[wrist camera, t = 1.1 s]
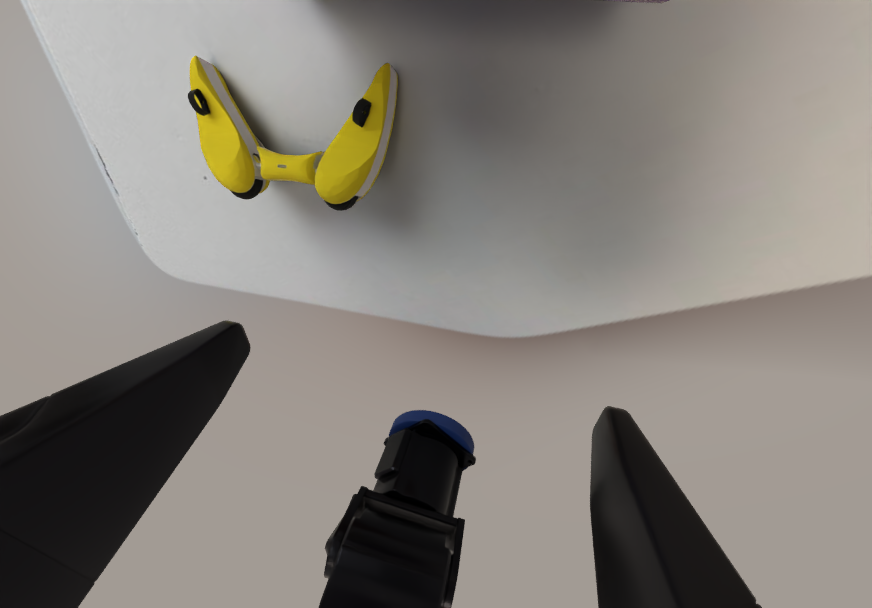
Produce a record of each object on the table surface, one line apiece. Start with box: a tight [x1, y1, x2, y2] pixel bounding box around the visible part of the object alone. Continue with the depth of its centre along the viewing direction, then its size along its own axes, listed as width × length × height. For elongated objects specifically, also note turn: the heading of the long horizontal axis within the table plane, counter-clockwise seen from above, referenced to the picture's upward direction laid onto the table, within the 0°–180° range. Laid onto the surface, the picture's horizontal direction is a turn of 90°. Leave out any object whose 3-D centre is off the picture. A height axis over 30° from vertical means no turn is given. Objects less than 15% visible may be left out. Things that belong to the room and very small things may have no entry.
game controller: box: [188, 56, 398, 210], centre depth 18 cm, size 10×6×4 cm, turn 89°
